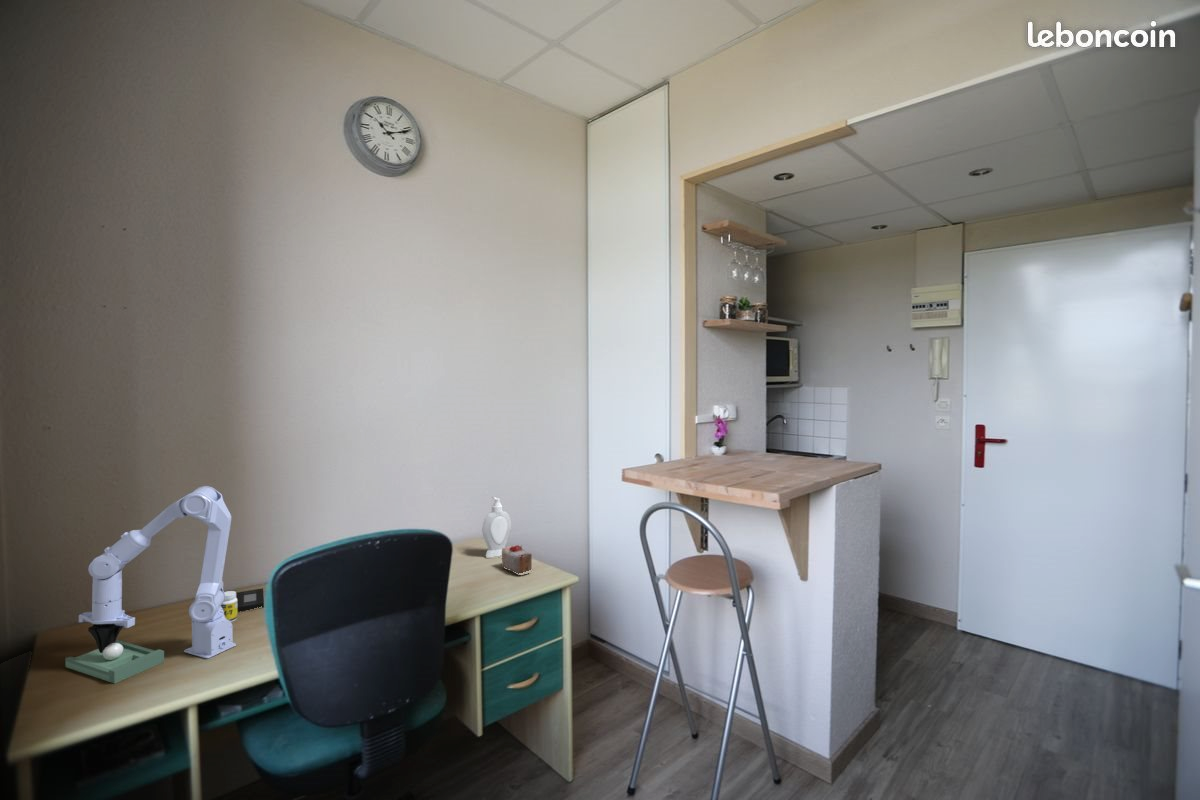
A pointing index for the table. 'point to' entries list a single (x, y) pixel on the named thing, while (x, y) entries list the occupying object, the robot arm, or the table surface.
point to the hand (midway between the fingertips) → (106, 651)
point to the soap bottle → (496, 529)
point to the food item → (516, 559)
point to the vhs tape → (250, 600)
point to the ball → (112, 651)
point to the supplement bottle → (230, 606)
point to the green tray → (116, 662)
